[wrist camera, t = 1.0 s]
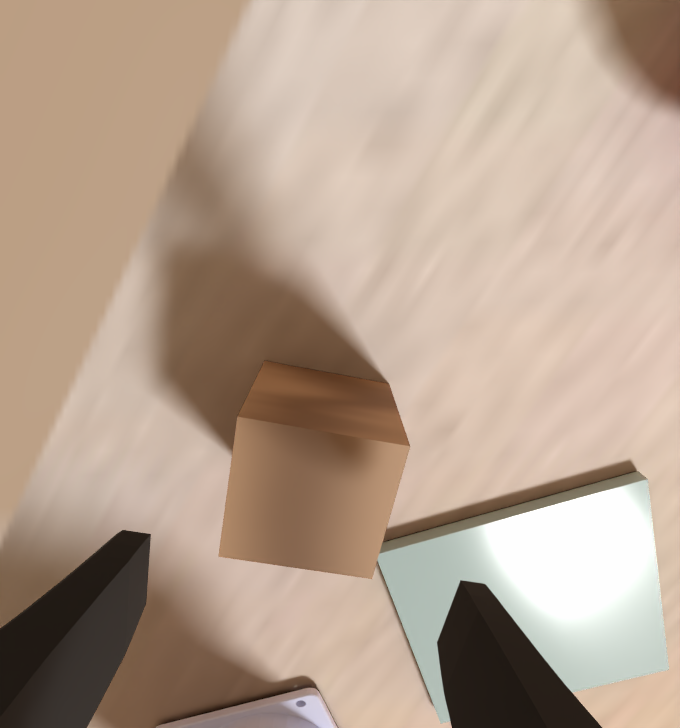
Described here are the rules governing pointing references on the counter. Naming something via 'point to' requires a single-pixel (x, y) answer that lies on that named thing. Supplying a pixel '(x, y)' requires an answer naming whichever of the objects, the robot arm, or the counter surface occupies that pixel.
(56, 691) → the robot arm
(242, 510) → the walnut cube
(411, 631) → the ceramic tile
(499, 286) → the counter surface
